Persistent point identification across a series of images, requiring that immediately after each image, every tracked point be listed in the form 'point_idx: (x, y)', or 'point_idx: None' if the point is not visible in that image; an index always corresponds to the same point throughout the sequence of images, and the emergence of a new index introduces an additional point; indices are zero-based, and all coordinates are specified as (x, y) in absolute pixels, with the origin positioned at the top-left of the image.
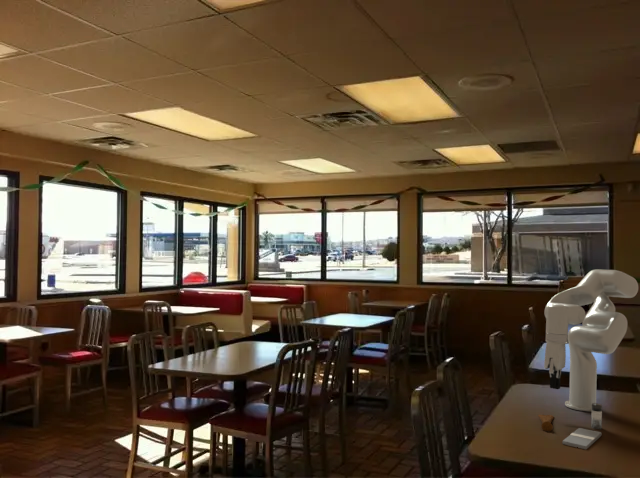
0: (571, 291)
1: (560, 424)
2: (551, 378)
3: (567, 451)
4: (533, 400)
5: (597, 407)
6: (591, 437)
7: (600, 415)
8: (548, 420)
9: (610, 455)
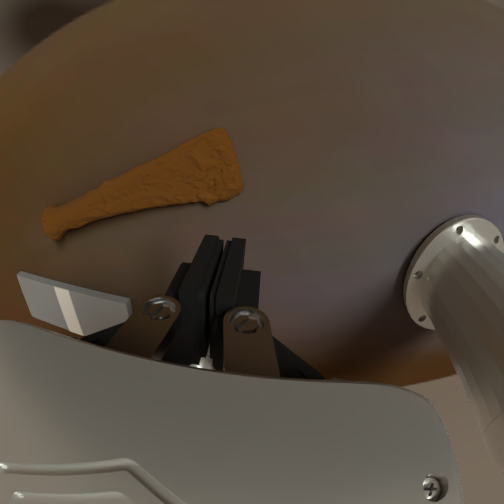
0: None
1: (149, 240)
2: (181, 294)
3: (6, 282)
4: (473, 81)
5: None
6: (78, 329)
7: None
8: (89, 216)
9: None
